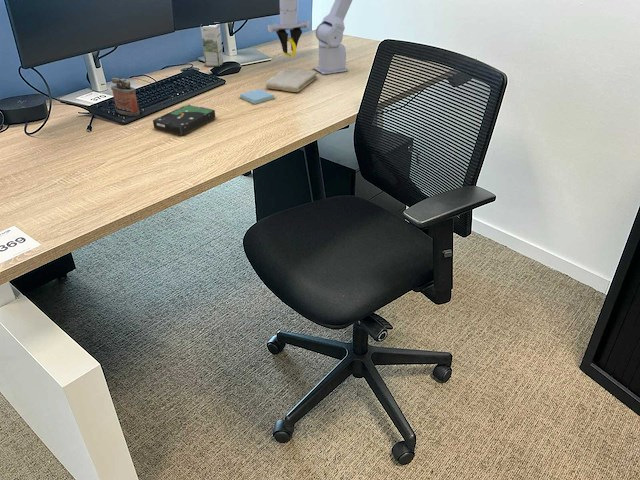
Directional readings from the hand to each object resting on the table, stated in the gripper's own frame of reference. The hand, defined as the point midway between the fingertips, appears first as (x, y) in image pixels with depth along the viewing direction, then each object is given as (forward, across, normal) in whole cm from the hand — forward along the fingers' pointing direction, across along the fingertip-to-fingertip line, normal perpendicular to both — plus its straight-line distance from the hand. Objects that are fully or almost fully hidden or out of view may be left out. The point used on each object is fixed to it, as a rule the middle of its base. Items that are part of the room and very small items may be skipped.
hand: (289, 51), depth 183 cm
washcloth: (+9, +3, +8) cm, 12 cm away
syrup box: (+9, +20, -25) cm, 33 cm away
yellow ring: (+2, 0, 0) cm, 2 cm away
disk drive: (+8, +44, +28) cm, 53 cm away
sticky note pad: (+8, +18, +16) cm, 26 cm away
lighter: (+8, +58, +12) cm, 59 cm away
